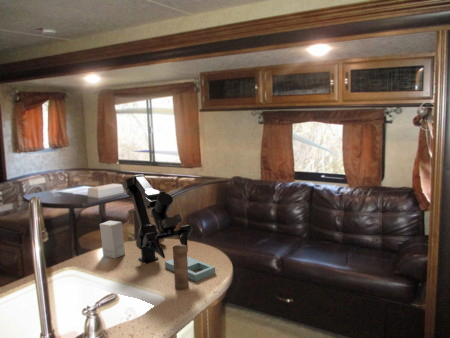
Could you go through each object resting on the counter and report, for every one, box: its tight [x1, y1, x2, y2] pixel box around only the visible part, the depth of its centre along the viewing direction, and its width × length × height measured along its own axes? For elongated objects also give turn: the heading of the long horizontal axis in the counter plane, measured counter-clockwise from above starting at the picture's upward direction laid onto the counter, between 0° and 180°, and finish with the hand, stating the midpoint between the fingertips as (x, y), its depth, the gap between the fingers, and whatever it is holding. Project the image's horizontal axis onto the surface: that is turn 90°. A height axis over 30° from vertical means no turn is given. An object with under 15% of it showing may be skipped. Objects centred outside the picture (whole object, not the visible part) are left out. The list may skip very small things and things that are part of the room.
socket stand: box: [164, 255, 216, 283], centre depth 144 cm, size 20×10×2 cm, turn 44°
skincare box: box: [99, 220, 126, 259], centre depth 163 cm, size 8×7×16 cm
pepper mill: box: [172, 244, 190, 291], centre depth 129 cm, size 5×5×15 cm
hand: (175, 254), depth 132 cm, fingers open, 9 cm apart
